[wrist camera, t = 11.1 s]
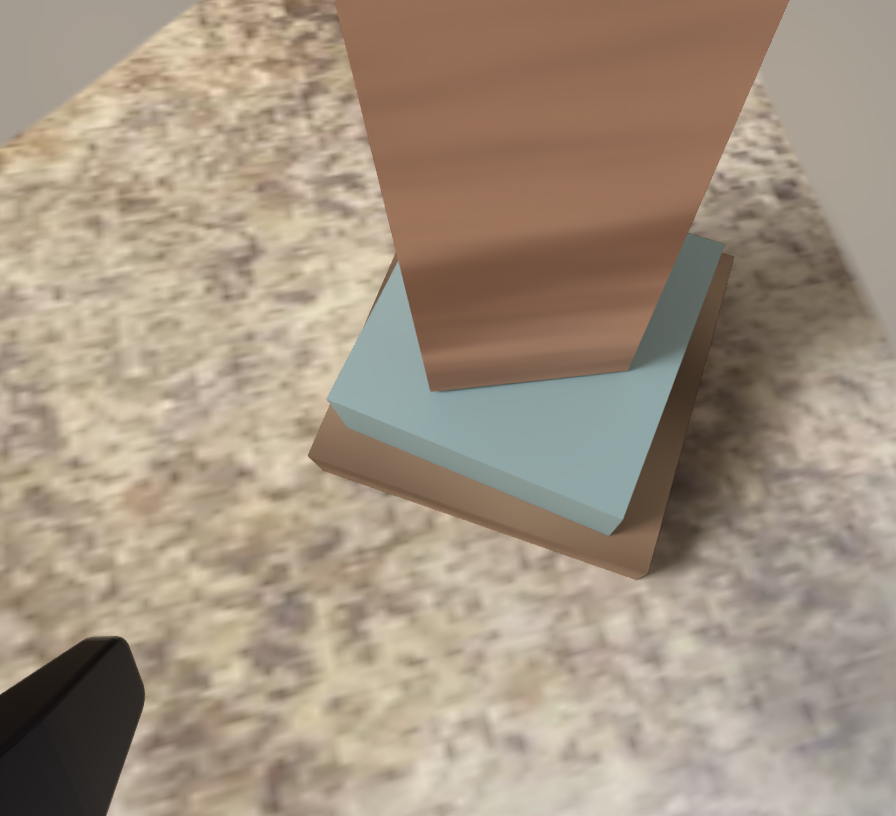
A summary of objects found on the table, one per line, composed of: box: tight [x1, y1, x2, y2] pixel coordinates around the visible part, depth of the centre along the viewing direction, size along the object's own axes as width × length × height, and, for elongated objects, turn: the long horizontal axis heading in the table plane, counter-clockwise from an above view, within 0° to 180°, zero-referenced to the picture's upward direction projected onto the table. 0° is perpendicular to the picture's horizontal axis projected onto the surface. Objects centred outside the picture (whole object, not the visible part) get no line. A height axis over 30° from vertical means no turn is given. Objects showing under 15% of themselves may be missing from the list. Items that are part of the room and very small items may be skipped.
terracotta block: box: [335, 0, 789, 392], centre depth 12 cm, size 5×5×13 cm
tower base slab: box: [308, 253, 734, 580], centre depth 22 cm, size 10×10×2 cm
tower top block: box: [327, 233, 725, 536], centre depth 20 cm, size 8×8×2 cm
